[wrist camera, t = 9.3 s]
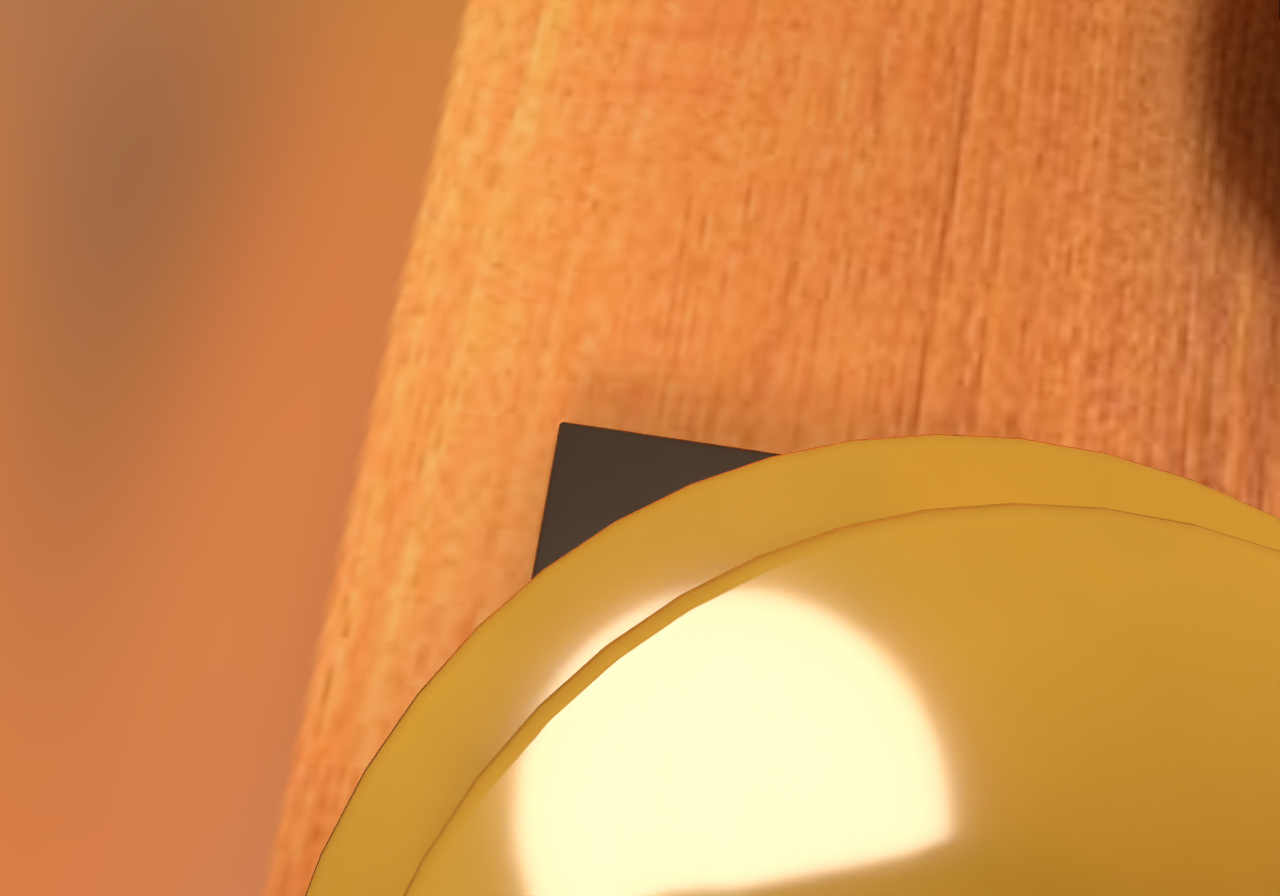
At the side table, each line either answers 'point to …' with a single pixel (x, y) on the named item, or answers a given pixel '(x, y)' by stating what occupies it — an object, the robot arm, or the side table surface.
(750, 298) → the side table surface
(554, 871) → the jar
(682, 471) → the hob
